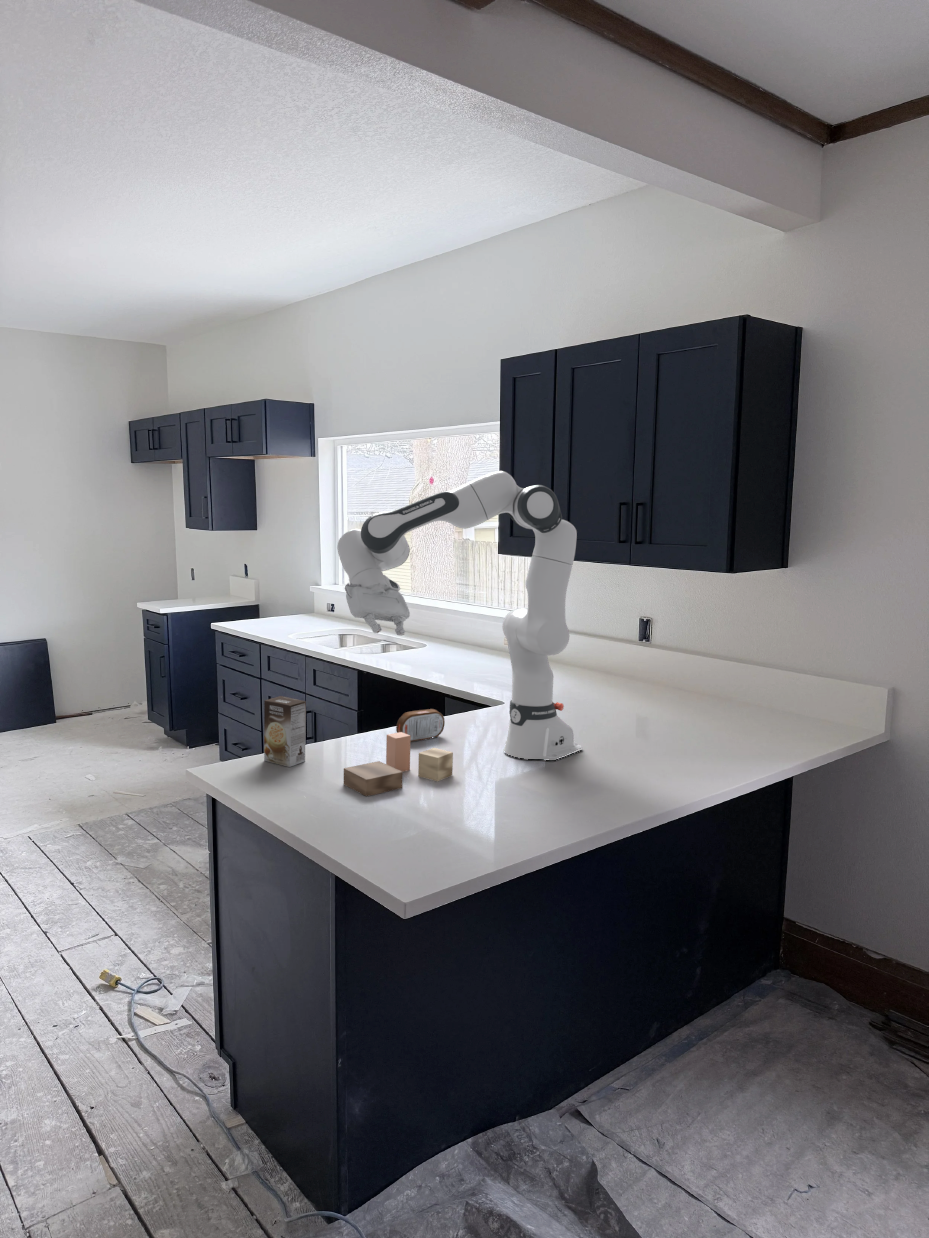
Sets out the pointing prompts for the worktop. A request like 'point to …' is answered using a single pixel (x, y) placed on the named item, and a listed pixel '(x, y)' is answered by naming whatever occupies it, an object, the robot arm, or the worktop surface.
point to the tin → (421, 724)
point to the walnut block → (373, 778)
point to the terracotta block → (398, 751)
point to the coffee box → (284, 731)
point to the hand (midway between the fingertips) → (389, 633)
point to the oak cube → (435, 764)
